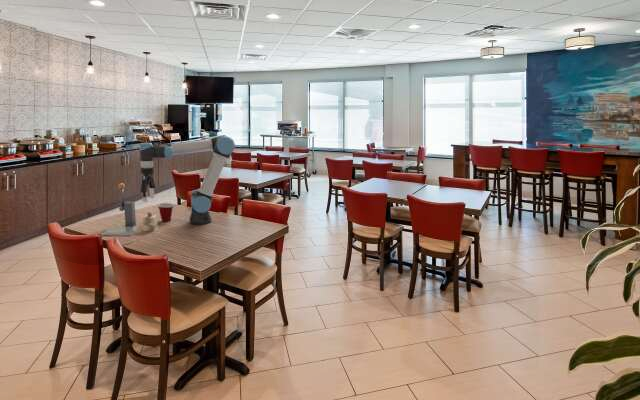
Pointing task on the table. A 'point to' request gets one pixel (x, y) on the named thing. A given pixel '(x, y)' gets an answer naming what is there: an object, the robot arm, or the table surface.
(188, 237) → the table surface
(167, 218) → the plastic cup
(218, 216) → the table surface
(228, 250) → the table surface
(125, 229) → the press
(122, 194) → the press lever
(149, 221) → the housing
